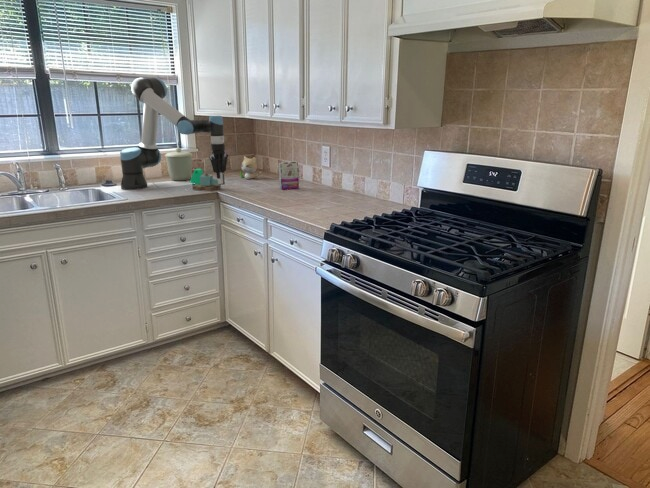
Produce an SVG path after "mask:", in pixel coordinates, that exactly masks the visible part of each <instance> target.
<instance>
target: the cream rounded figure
mask: <svg viewBox="0 0 650 488" xmlns="http://www.w3.org/2000/svg"><path fill="white" fill-rule="evenodd" d="M240 167H241V170H240V172H239V175H240V178H241V179H243V178H245V180H249V179H250V180H252V179H255V178H257V177H259V176H261V175H262V171H259V172H258V173H256V174H255V172H256V171H257V169H258V163H257V156H254V157H252V158H248V157H247V156H245V155H243V161H242V162H241V166H240ZM242 172H243V173H245V174H244V175H243V174H242Z"/></svg>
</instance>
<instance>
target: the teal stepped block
mask: <svg viewBox="0 0 650 488" xmlns="http://www.w3.org/2000/svg"><path fill="white" fill-rule="evenodd" d="M212 184H215V185H222V186H223V185H226V183H225V174H224V173H223V184H218V178H214V175H213V174H208V176H204V174H202V176H200V186H211V185H212Z"/></svg>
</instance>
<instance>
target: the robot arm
mask: <svg viewBox="0 0 650 488" xmlns="http://www.w3.org/2000/svg"><path fill="white" fill-rule="evenodd" d="M130 86H131V93H132V95H133V96H134V97H135V98H136V99H137V100H138V101H139V102H141V103H142V104H143V113H142V123H141V124H142V127H141V137H140V139H141V140H140V142H139V143H138V145H137V146H138V147H127V148H125V149H122V150H120V157H119V158H120V164H121V165H120V166H121V172H122V177H121V181H120V182H121V183H120V188H121V190H128V191H131V190H143V189H147V188H148V182H147V180H146V178H145V175H144V169H146V168H153V167H156V166H158V165H159V164H160V162H161V160H162V154H161V152H160V150H159V146H158V145H157V136H158V135H157V133H158V124H159V123H158V122H159V114H160V116H162V117H163V118H165V119H166V120H167V121H169V122H170V123H171V124H172V125H174V126H176V128H177V131H178V132H179V134H181V135H192V134H193V135H194V134H201V133H202V134H203V133H204V134H205V133H206V134H207V133H210V143H211V144H210V145H211V146H210V147H211V151H212V153H211V155H209V156H208V158H209V160H210V164H211V167H212V170H213V172H214V173H216V179H218V184H223V174H224V173H225V172H226V170H227V163H228V158H229V154H226V152H225V150H226V148H225V147H226V146H225V134H224V133H225V131H224V119H223V116H221V115H210V116H209V119H207V118H206V119H205V118H201V119H200V118H195V119H194V118H193V119H190V118H188V117H187V116H186V115H184V114H183V113H181V112H180V111H179V110H178V109H176V108H175V107H173V105H171V104H170V103H169V102H167V101H166V100H164V98H165V97H166V96H167V93H168V87H167V85H166V84H165V82H164V81H163V80H162V79H160V78H156V77H137V78H135V79H134V80H133V81H132V84H131V85H130Z"/></svg>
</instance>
